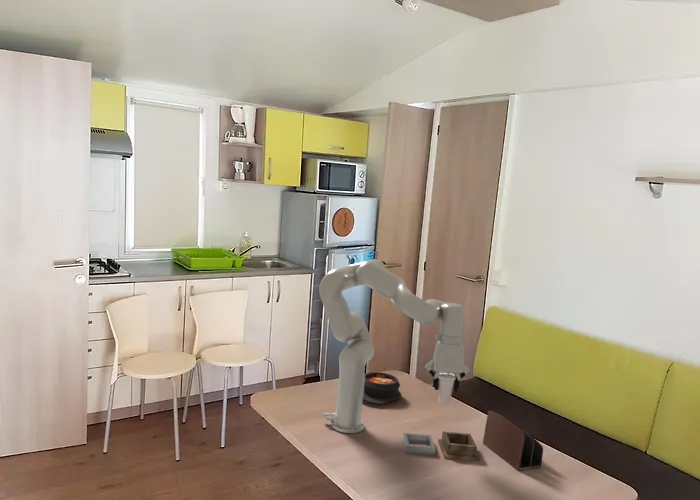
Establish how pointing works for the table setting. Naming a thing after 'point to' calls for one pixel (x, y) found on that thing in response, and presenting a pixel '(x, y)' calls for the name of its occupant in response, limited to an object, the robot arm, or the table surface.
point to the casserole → (381, 388)
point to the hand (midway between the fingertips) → (445, 389)
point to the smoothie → (445, 386)
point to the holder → (415, 448)
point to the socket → (458, 446)
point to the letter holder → (512, 443)
